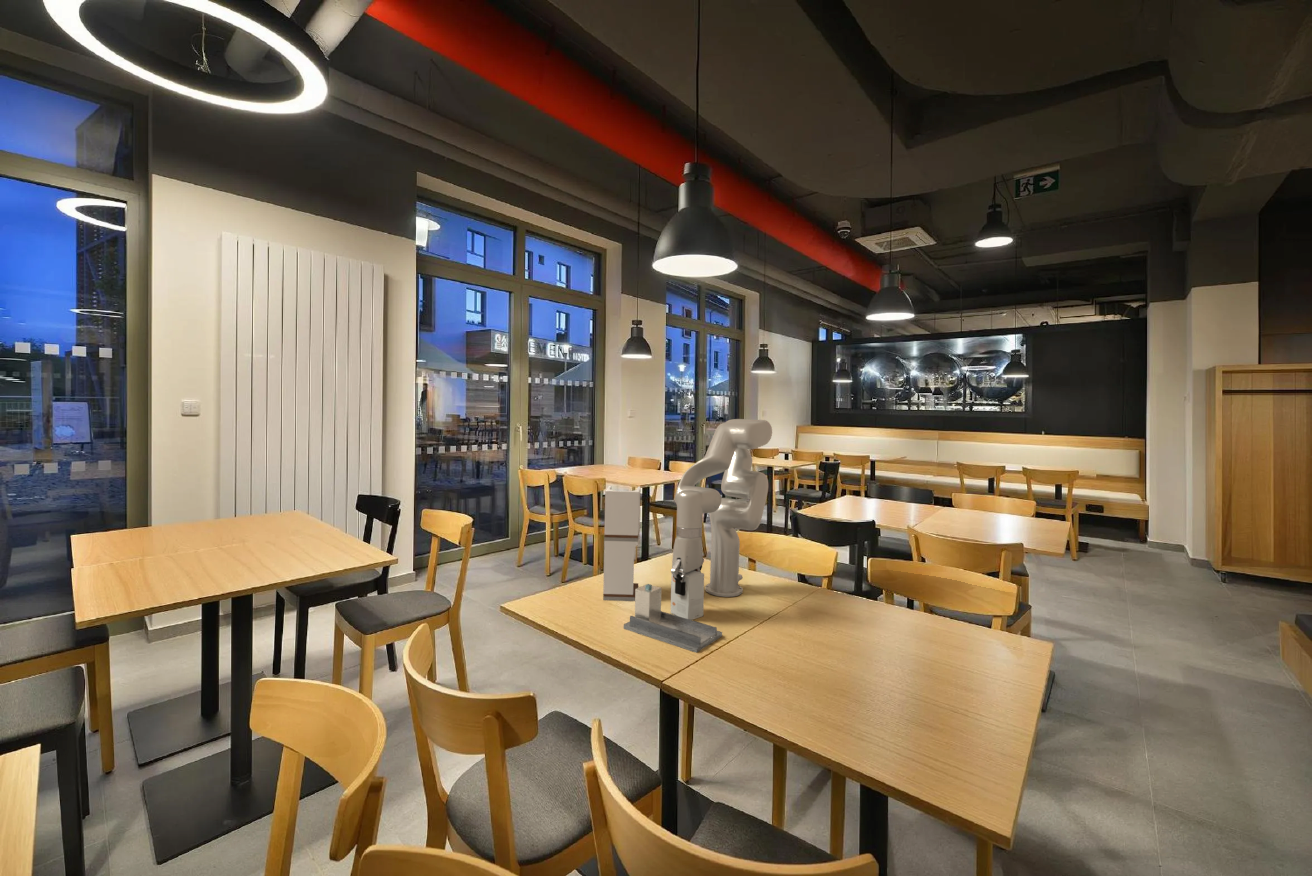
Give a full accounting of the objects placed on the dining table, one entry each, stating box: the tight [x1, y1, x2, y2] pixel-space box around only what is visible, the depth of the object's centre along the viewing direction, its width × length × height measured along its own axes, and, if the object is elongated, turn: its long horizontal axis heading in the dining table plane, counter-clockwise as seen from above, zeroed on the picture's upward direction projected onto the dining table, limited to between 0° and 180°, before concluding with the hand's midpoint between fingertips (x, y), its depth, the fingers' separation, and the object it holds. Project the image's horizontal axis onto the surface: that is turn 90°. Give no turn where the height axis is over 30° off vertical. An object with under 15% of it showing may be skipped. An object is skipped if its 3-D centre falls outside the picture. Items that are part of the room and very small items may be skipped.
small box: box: [670, 569, 705, 621], centre depth 167 cm, size 8×6×13 cm
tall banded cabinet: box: [602, 485, 642, 602], centre depth 183 cm, size 11×11×35 cm
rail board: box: [623, 583, 723, 654], centre depth 154 cm, size 13×24×12 cm, turn 54°
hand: (687, 590), depth 167 cm, fingers closed on small box, 7 cm apart
